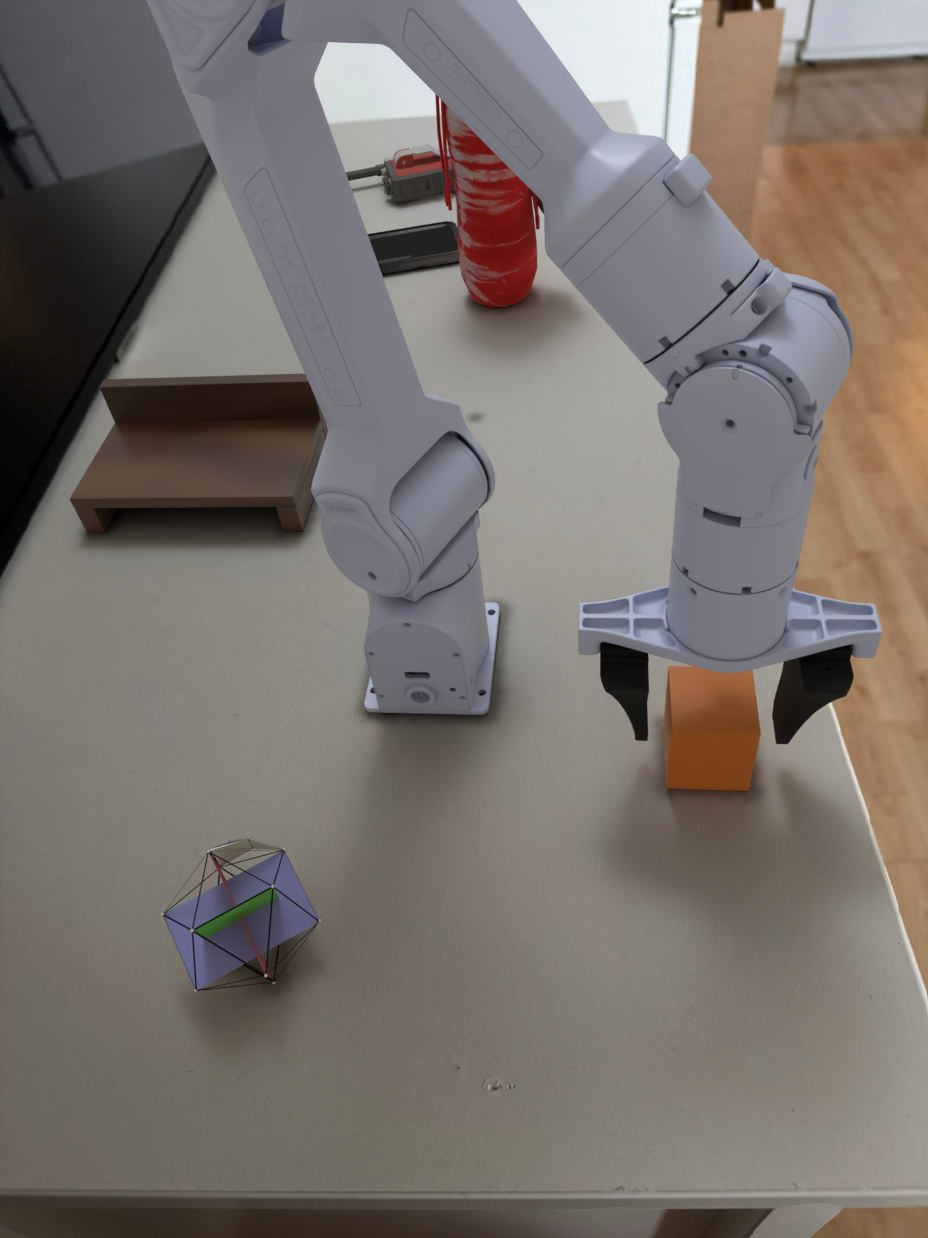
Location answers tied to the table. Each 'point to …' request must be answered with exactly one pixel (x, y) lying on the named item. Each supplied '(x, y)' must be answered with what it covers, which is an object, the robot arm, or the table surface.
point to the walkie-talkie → (410, 173)
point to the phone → (415, 246)
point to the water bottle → (489, 216)
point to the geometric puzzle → (240, 915)
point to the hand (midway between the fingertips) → (709, 728)
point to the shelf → (205, 447)
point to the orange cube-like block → (710, 729)
